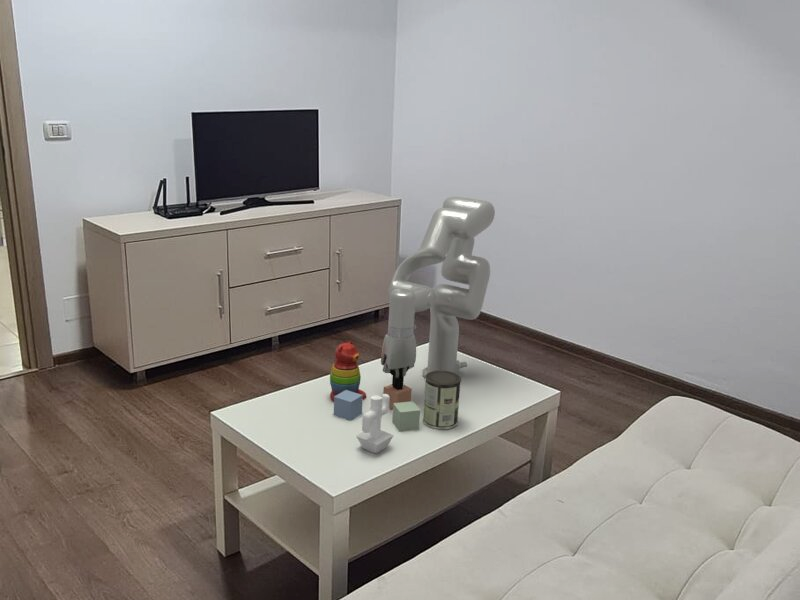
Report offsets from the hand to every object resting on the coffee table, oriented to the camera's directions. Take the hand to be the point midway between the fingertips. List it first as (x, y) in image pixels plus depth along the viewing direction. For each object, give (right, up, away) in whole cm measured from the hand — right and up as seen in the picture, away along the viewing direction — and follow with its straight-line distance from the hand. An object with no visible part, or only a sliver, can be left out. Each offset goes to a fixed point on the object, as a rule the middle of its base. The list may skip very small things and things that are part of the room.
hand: (397, 387), depth 224 cm
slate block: (-15, -7, -5) cm, 17 cm away
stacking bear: (-16, -4, +5) cm, 17 cm away
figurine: (-6, -14, -23) cm, 28 cm away
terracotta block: (0, -6, +2) cm, 6 cm away
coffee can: (+12, -9, -7) cm, 17 cm away
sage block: (+2, -10, -10) cm, 14 cm away
